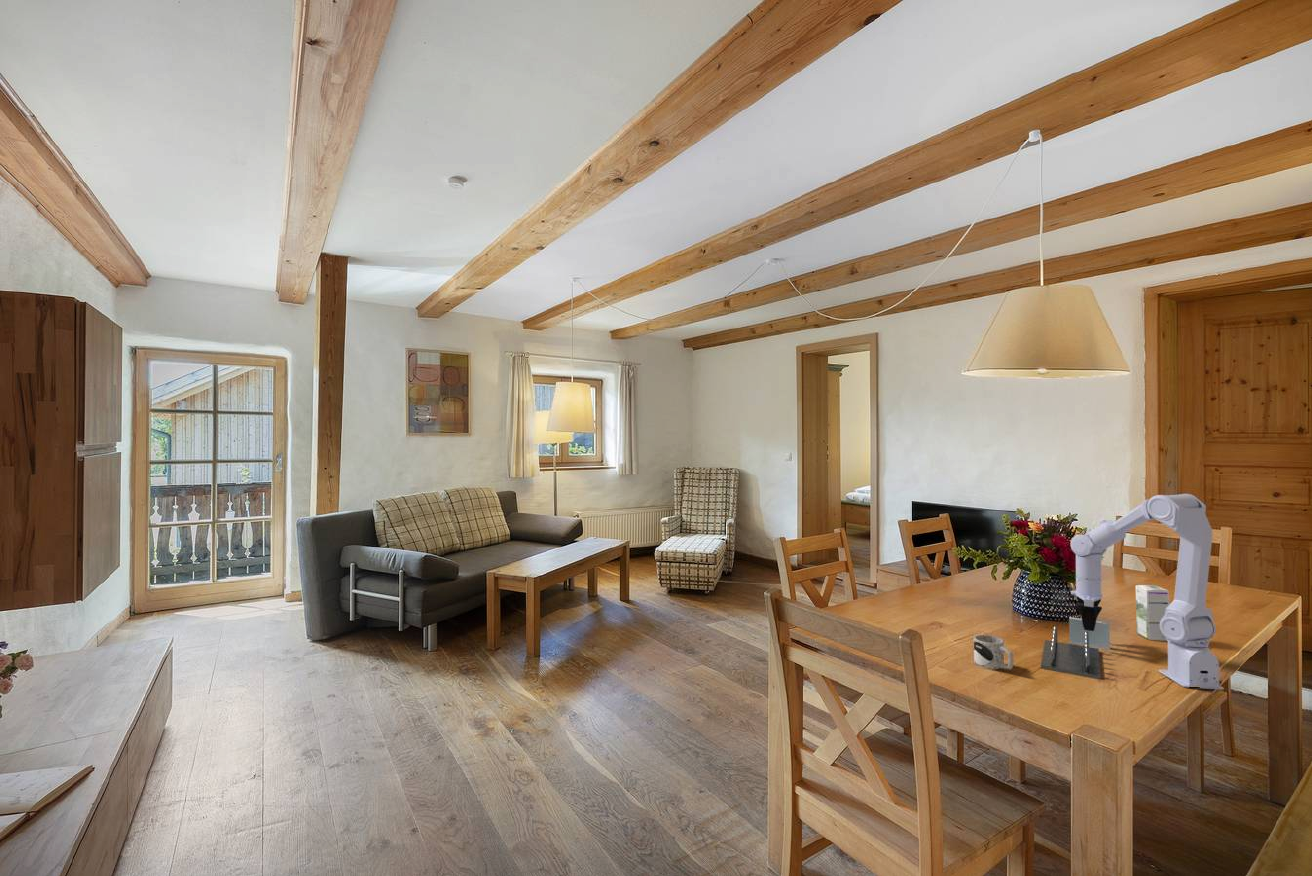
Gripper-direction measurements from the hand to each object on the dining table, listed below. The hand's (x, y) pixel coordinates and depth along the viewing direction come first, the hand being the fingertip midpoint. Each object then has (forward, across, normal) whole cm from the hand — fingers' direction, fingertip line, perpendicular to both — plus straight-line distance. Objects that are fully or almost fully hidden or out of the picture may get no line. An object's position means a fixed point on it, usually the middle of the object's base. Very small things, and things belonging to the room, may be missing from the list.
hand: (1088, 626), depth 163 cm
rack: (+5, +16, -4) cm, 17 cm away
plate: (+5, 0, 0) cm, 5 cm away
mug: (+6, +32, -20) cm, 38 cm away
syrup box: (+6, -18, +15) cm, 24 cm away
